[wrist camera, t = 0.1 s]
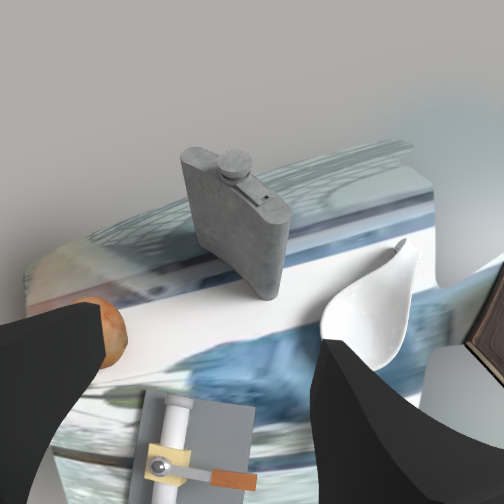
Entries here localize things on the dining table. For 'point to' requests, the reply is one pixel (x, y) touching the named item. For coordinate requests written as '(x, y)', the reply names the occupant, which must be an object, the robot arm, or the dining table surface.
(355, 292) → the spoon rest
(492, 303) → the hardcover book
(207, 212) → the hip flask
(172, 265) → the dining table surface
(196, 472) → the valve lever
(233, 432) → the board
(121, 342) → the onion
